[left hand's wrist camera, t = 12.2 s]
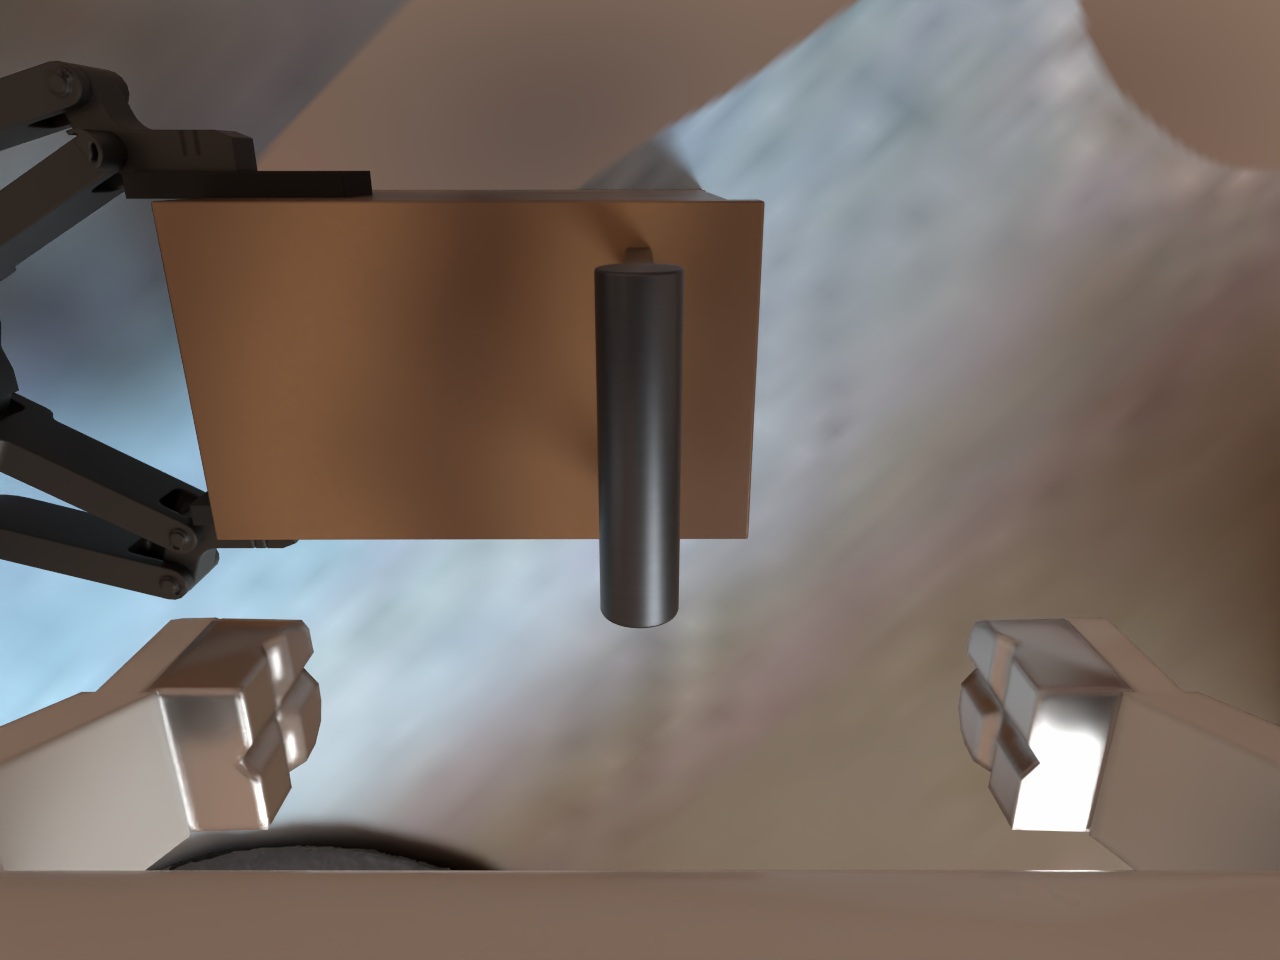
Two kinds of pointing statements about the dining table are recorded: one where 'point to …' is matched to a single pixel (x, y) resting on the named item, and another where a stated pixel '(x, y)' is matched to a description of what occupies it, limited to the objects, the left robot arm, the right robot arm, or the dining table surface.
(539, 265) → the lid
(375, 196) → the chest
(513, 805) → the dining table surface
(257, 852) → the round grey tray
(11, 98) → the right robot arm
